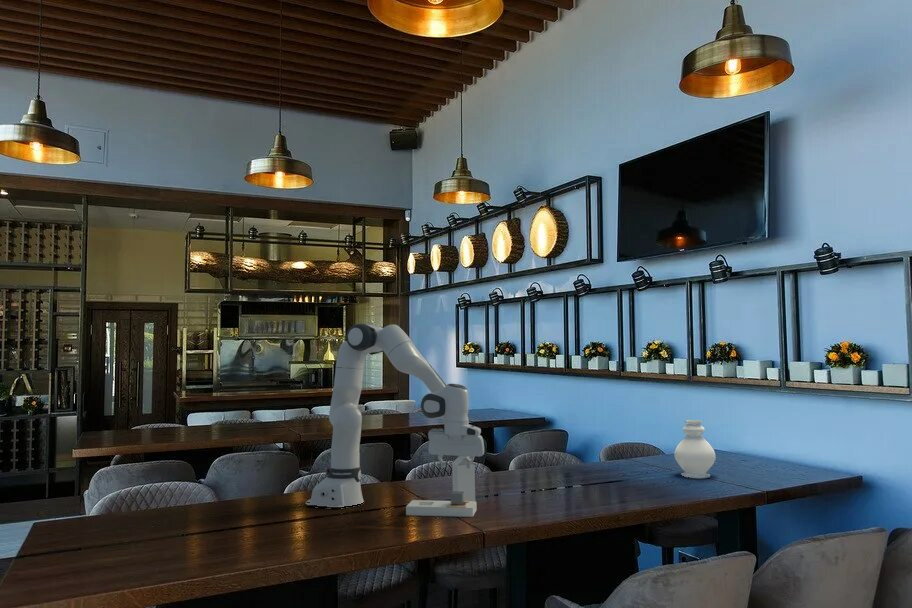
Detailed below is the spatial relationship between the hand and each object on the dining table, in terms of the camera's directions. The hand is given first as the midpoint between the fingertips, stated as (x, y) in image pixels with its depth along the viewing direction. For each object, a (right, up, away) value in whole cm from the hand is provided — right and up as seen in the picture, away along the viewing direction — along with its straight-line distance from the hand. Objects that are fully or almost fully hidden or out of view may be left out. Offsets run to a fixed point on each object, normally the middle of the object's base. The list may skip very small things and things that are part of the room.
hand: (455, 467), depth 238 cm
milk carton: (+3, -19, +19) cm, 27 cm away
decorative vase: (+110, -20, +65) cm, 129 cm away
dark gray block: (+1, -16, -1) cm, 16 cm away
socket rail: (-5, -17, 0) cm, 18 cm away
